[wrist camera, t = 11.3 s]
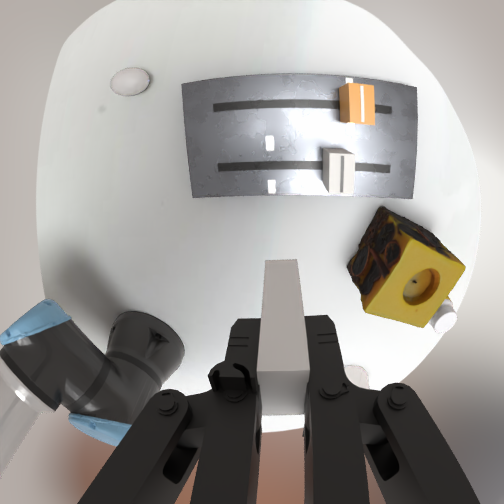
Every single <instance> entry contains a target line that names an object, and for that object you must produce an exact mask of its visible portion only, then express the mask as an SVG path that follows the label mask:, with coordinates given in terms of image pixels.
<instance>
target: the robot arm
mask: <svg viewBox="0 0 504 504" xmlns="http://www.w3.org/2000/svg"><path fill="white" fill-rule="evenodd" d="M71 319H72V318H71V316H68V315H67V314H66V313H65V312H64V311H63V310H62V308H61V307H60V306H59V305H58V304H57V303H56V302H55V301H53V300H51V299H45V300H43V301H41V302H40V303H38V304H37V305H36V306H34V307H33V308H32V309H30V310H29V311H28V312H27V313H25V314H24V315H23V316H22V317H20V318H19V319H18V320H17V321H16V322H14V323H13V324H12V325H11V326H10V327H9V328H8V329H7V330H6V331H4V332H3V333H2V334H1V335H0V342H1V344H2V345H4V347H3V348H2V349H1V350H0V479H1V477H2V475H3V473H4V471H5V469H6V468H7V466H8V464H9V463H10V461H11V459H12V458H13V456H14V454H15V453H16V451H17V449H18V448H19V446H20V444H21V443H22V441H23V440H24V438H25V436H26V435H27V433H28V432H29V430H30V429H31V427H32V426H33V424H34V423H35V421H36V420H37V418H38V417H39V415H40V414H41V413H43V412H55V411H56V409H57V408H58V407H59V405H60V404H62V405H63V406H65V407H66V408H67V409H68V410H69V411H70V412H71V413H70V414H69V422H70V423H71V424H73V426H74V427H76V428H77V429H79V430H80V431H82V432H84V433H85V434H87V435H89V436H91V437H93V438H96V439H98V440H100V441H103V442H105V443H108V444H110V445H114V446H117V447H116V449H115V450H114V452H113V453H112V455H111V456H110V457H109V459H108V460H107V462H106V463H105V465H104V466H103V467H102V469H101V470H100V472H99V473H98V475H97V476H96V477H95V479H94V480H93V482H92V483H91V485H90V486H89V488H88V489H87V490H86V492H85V493H84V495H83V496H82V498H81V499H80V501H79V502H78V503H77V504H174V503H175V501H176V500H177V498H178V496H179V494H180V492H181V491H182V488H183V487H184V485H185V483H186V481H187V479H188V478H189V476H190V474H191V472H192V470H193V468H194V466H195V465H196V463H197V461H198V459H199V461H198V467H197V472H196V476H195V481H194V486H193V491H192V496H191V501H190V504H256V499H257V487H258V475H259V462H260V449H261V435H262V426H261V418H262V415H301V414H304V413H305V424H304V431H303V437H304V457H305V458H304V460H305V500H304V504H370V502H369V491H368V482H367V473H366V465H365V457H364V454H365V456H366V458H367V460H368V463H369V465H370V467H371V470H372V472H373V474H374V476H375V479H376V481H377V483H378V485H379V488H380V490H381V492H382V495H383V497H384V499H385V502H386V504H480V502H479V500H478V498H477V496H476V494H475V493H474V490H473V489H472V487H471V485H470V483H469V481H468V479H467V477H466V475H465V473H464V472H463V470H462V468H461V467H460V464H459V463H458V461H457V459H456V457H455V456H454V454H453V452H452V450H451V449H450V447H449V445H448V444H447V442H446V440H445V439H444V437H443V435H442V434H441V432H440V430H439V429H438V427H437V425H436V424H435V422H434V421H433V419H432V418H431V416H430V414H429V413H428V411H427V410H426V408H425V406H424V405H423V403H422V402H421V400H420V399H419V397H418V396H417V394H416V393H415V391H414V390H413V389H412V388H411V387H410V386H407V385H405V384H402V383H392V384H388V385H387V386H385V387H384V388H382V390H381V391H378V390H371V389H365V388H361V387H358V386H356V385H354V384H353V383H352V382H351V381H349V379H348V378H347V376H346V373H345V370H344V365H343V360H342V355H341V351H340V346H339V343H338V337H337V334H336V329H335V324H334V322H333V321H332V320H331V319H330V318H329V317H328V315H317V316H304V310H303V301H302V293H301V285H300V278H299V271H298V263H297V259H293V260H266V261H265V274H264V288H263V301H262V313H261V318H248V319H238V320H237V321H236V322H235V323H234V325H233V326H232V327H231V332H230V337H229V342H228V347H227V351H226V356H225V361H223V362H221V363H218V364H217V365H215V366H214V367H213V368H212V369H211V370H210V372H209V374H208V378H209V381H210V384H211V387H212V389H211V390H209V391H207V392H204V393H200V394H195V395H189V396H185V395H184V394H183V393H181V392H179V391H178V390H172V389H167V390H162V391H160V389H161V387H162V384H163V383H164V382H165V381H166V380H167V379H168V378H169V377H170V376H171V375H172V374H173V373H174V371H175V370H177V369H178V367H179V366H180V364H181V362H182V359H183V357H184V346H183V344H182V341H181V340H180V338H179V337H178V335H177V334H176V333H175V332H174V331H173V330H172V329H171V328H170V327H169V326H167V325H166V324H165V323H163V322H162V321H160V320H158V319H157V318H155V317H153V316H150V315H148V314H144V313H140V312H126V313H123V314H121V315H120V316H119V317H118V318H117V319H116V321H115V322H114V324H113V326H112V328H111V332H110V337H109V341H108V346H107V351H106V353H105V355H104V354H103V353H102V352H101V351H100V350H99V349H98V348H97V347H96V346H95V345H94V344H93V343H92V342H91V341H90V340H89V338H88V337H87V336H86V335H85V334H84V333H83V332H82V331H81V330H80V329H79V328H78V326H77V325H76V324H75V323H74V322H73V321H72V320H71Z"/></svg>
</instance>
